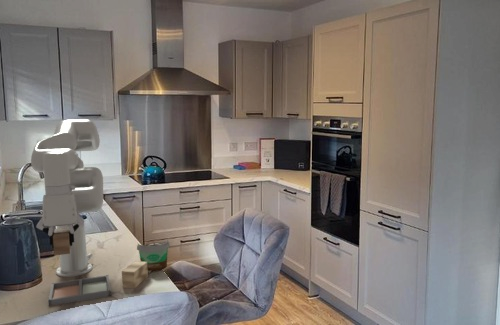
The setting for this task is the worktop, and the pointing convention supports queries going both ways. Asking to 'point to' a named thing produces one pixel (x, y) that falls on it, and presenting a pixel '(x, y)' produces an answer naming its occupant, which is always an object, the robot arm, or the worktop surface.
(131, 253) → the worktop surface
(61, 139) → the robot arm
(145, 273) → the pale oak block
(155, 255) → the food container
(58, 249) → the walnut block
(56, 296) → the slot organizer
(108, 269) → the worktop surface
